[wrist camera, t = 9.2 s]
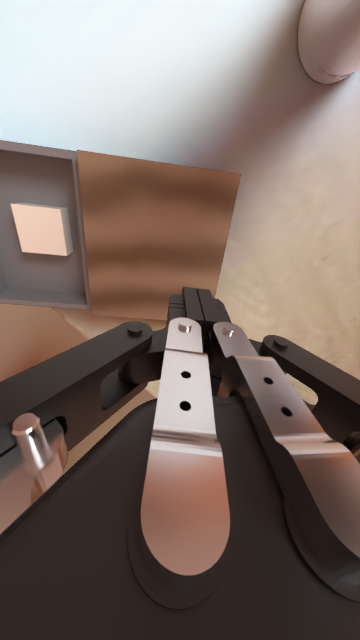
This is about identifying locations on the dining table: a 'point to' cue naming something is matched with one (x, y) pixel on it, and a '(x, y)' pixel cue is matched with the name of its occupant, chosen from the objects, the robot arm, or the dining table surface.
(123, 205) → the brown wooden box
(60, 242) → the tile
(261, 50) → the dining table surface
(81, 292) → the box
